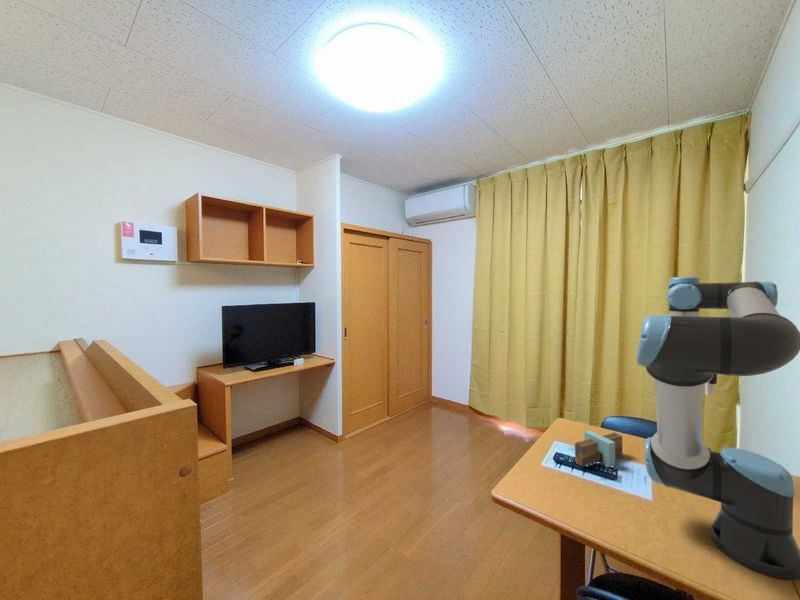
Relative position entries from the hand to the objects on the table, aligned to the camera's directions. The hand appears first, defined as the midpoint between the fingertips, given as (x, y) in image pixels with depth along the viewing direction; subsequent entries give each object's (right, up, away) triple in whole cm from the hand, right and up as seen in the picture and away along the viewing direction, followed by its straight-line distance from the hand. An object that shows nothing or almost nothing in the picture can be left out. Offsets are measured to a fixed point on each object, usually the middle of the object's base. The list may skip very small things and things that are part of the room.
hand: (683, 387), depth 106 cm
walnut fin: (-20, -31, +13) cm, 39 cm away
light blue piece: (-20, -31, +13) cm, 39 cm away
